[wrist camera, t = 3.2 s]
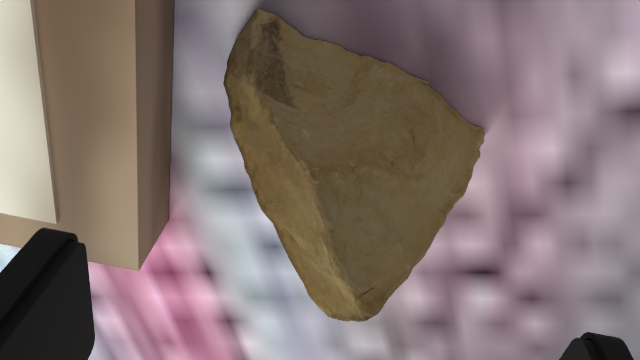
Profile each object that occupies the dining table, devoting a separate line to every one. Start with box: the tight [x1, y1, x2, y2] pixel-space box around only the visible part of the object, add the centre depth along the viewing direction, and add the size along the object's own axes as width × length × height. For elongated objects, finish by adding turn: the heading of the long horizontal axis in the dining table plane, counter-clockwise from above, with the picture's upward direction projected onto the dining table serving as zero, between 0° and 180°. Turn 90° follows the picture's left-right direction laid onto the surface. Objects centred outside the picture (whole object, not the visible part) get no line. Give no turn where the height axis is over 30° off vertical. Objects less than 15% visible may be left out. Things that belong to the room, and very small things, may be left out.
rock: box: [224, 9, 484, 322], centre depth 20 cm, size 11×9×10 cm
